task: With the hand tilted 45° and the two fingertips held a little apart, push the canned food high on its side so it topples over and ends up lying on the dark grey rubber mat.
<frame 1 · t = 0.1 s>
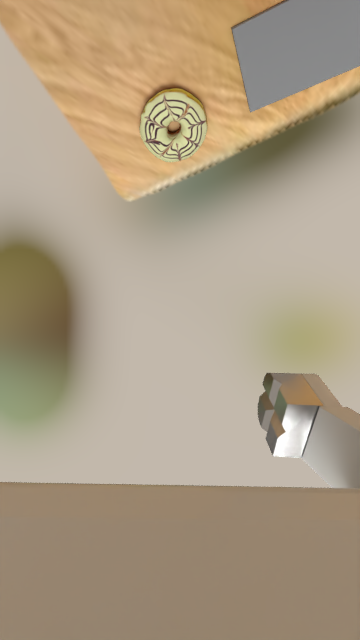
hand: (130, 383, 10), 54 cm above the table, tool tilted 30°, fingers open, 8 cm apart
mat: (319, 35, 46), on the table
decorated donut: (173, 121, 55), on the table
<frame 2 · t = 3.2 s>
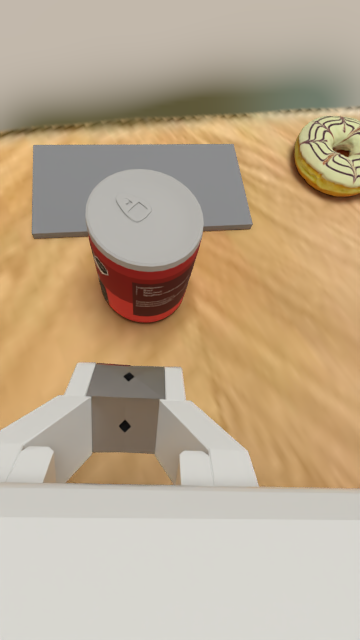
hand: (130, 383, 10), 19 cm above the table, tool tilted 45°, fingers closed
mat: (142, 189, 36), on the table
canned food: (143, 288, 32), on the table
decorated donut: (330, 169, 41), on the table
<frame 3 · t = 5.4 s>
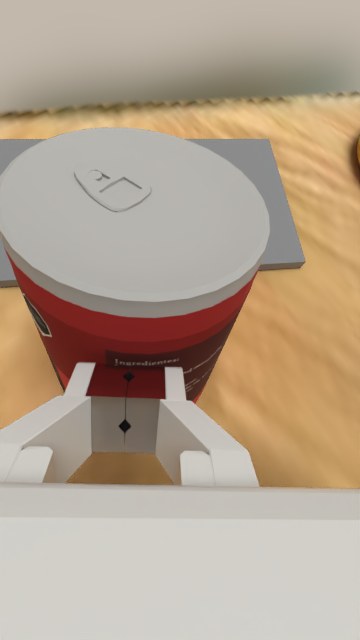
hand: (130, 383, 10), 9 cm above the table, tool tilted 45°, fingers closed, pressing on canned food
mat: (133, 207, 23), on the table
canned food: (133, 368, 19), point 1 cm above the table, touching gripper
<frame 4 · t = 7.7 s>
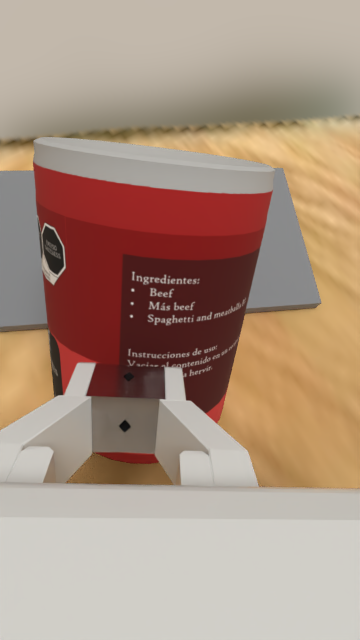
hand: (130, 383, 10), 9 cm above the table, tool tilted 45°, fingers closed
mat: (141, 243, 22), on the table
canned food: (139, 404, 16), point 2 cm above the table
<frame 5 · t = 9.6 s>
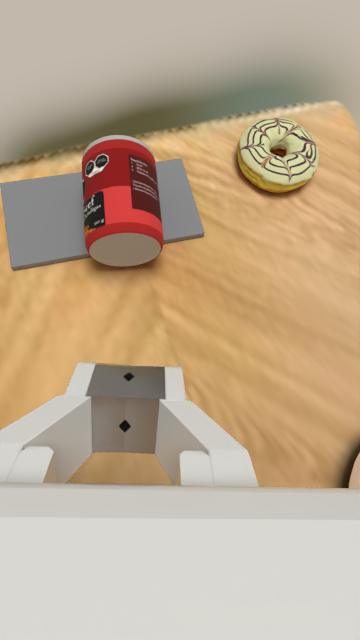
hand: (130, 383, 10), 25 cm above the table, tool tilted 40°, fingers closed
mat: (104, 212, 40), on the table
canned food: (125, 253, 34), point 5 cm above the table, touching mat
decorated donut: (272, 166, 46), on the table
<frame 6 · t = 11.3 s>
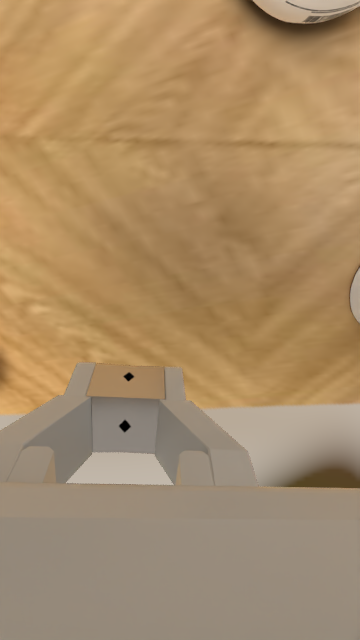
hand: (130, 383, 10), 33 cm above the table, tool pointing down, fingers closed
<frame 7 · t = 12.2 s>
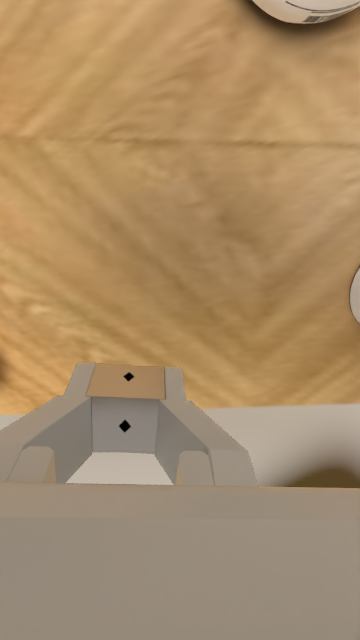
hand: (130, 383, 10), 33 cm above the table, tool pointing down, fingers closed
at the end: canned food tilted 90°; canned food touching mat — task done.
